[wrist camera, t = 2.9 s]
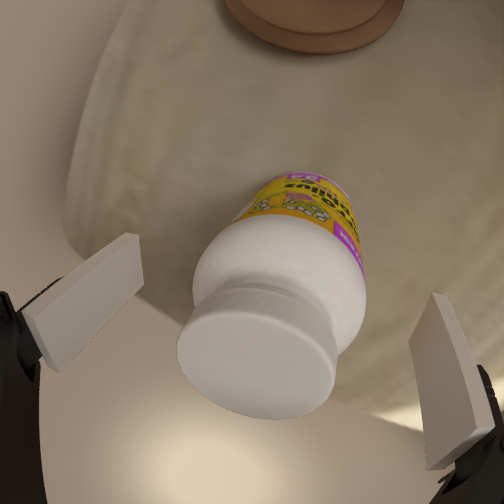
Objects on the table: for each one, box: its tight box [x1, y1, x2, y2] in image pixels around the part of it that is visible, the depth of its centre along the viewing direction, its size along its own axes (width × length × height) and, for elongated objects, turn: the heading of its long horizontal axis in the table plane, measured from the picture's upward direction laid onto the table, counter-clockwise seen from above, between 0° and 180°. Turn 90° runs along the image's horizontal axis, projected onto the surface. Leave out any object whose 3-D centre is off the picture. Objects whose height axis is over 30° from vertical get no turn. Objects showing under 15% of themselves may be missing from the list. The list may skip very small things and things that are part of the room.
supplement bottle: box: [176, 171, 366, 420], centre depth 13 cm, size 7×7×13 cm
